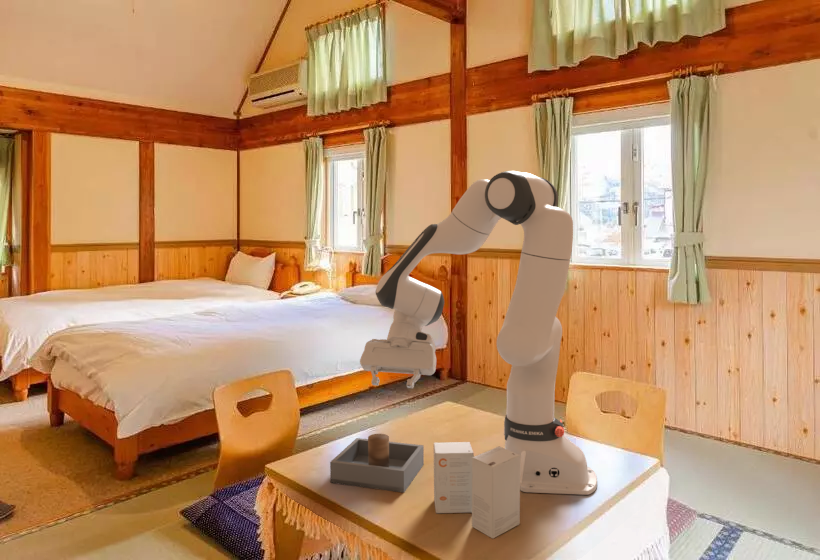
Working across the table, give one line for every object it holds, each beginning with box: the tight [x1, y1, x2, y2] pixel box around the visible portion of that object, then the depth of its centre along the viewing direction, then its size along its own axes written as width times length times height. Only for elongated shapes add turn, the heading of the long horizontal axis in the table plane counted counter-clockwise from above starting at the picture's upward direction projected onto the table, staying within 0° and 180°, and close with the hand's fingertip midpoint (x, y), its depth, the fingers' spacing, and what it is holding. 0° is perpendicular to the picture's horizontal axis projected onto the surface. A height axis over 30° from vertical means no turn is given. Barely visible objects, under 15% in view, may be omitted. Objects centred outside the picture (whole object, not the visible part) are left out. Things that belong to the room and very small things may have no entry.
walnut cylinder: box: [367, 433, 390, 467], centre depth 139 cm, size 5×5×8 cm
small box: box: [433, 441, 475, 514], centre depth 122 cm, size 8×6×13 cm
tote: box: [329, 437, 425, 494], centre depth 139 cm, size 18×16×5 cm
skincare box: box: [471, 446, 521, 539], centre depth 114 cm, size 8×6×15 cm
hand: (392, 385), depth 148 cm, fingers open, 8 cm apart
